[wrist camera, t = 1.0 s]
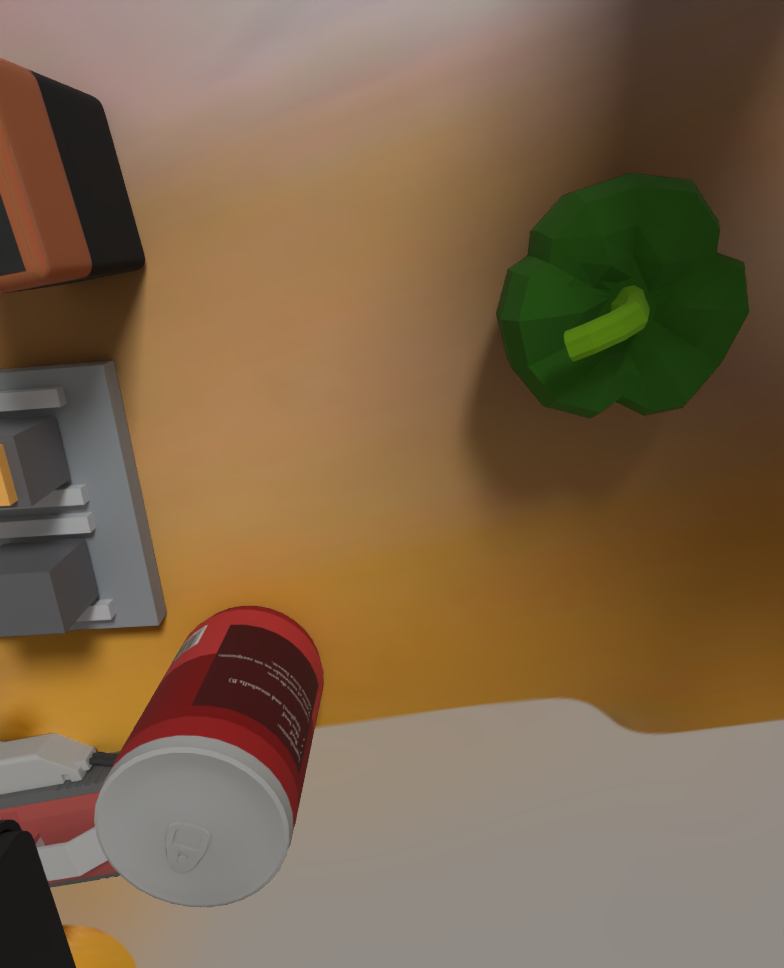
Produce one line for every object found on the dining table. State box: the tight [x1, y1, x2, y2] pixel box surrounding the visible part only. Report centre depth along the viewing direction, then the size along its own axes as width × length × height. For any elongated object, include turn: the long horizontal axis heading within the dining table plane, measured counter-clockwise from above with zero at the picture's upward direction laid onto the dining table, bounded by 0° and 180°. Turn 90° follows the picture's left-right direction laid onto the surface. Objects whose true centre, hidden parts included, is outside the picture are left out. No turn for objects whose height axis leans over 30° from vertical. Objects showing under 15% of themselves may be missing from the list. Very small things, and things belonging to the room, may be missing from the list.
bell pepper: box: [496, 173, 749, 418], centre depth 26 cm, size 8×8×10 cm
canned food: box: [94, 606, 324, 907], centre depth 33 cm, size 8×8×11 cm
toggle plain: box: [0, 539, 99, 637], centre depth 33 cm, size 3×4×4 cm
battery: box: [0, 58, 145, 294], centre depth 26 cm, size 4×7×10 cm, turn 10°
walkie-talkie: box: [0, 733, 120, 887], centre depth 39 cm, size 9×4×20 cm
